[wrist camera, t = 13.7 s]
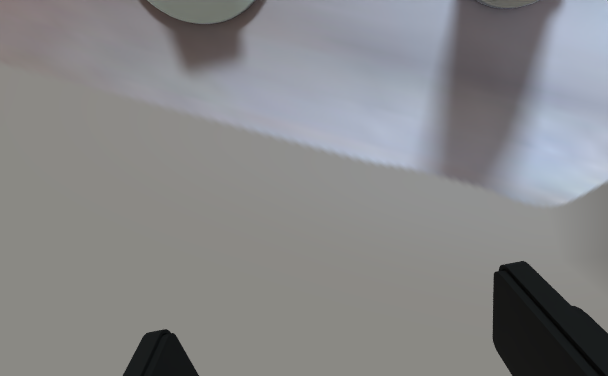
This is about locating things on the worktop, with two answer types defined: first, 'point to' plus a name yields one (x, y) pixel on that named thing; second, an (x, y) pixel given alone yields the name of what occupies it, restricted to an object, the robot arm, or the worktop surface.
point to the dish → (202, 9)
